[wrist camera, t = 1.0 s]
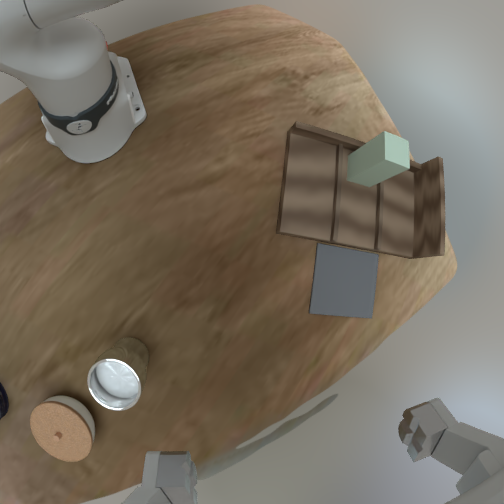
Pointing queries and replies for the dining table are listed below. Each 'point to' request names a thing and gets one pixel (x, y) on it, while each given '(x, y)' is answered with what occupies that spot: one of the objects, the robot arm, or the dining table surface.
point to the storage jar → (3, 401)
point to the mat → (343, 282)
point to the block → (378, 160)
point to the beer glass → (119, 374)
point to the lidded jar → (63, 428)
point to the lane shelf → (359, 199)
